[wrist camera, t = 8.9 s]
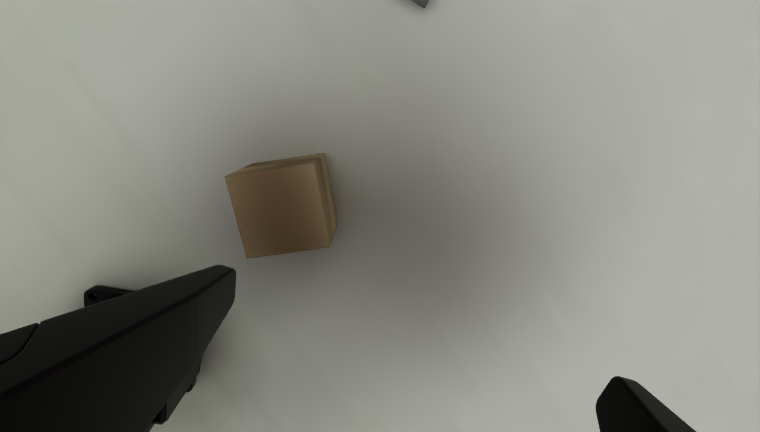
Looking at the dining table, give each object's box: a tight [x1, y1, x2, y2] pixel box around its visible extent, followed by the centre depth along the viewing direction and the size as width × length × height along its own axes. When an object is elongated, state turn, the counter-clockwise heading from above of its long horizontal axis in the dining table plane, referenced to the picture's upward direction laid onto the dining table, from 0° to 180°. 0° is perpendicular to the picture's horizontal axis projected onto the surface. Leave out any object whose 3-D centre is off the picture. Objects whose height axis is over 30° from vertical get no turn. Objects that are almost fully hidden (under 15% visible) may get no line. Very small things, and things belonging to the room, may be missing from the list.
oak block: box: [225, 153, 337, 259], centre depth 18 cm, size 4×4×4 cm
